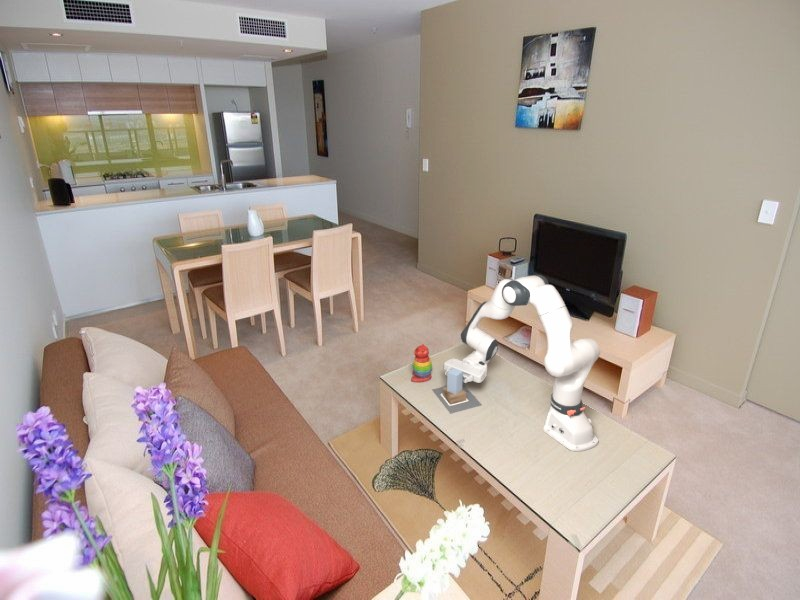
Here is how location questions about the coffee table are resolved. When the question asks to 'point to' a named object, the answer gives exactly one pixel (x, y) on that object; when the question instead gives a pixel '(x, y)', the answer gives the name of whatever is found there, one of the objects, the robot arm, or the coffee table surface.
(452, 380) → the pillar
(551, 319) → the robot arm
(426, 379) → the stacking bear
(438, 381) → the coffee table surface
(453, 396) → the base block
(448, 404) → the build mat
